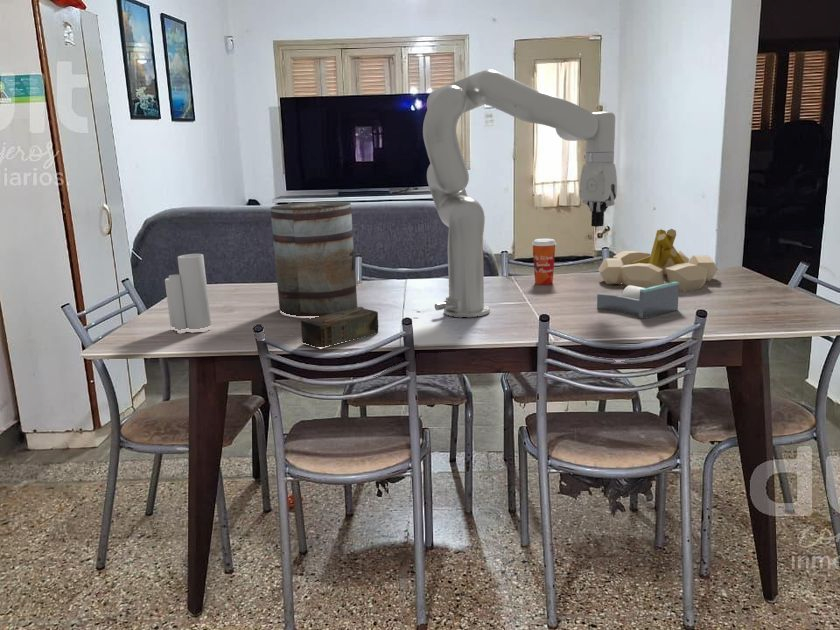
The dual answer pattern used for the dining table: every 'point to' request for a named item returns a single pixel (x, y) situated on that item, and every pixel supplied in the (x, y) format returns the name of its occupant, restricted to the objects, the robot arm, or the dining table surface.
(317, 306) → the barrel
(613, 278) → the campfire
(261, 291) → the dining table surface
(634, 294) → the roll
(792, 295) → the dining table surface
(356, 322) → the olive brown box
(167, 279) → the vase
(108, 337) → the dining table surface
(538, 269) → the paper cup
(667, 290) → the holder
